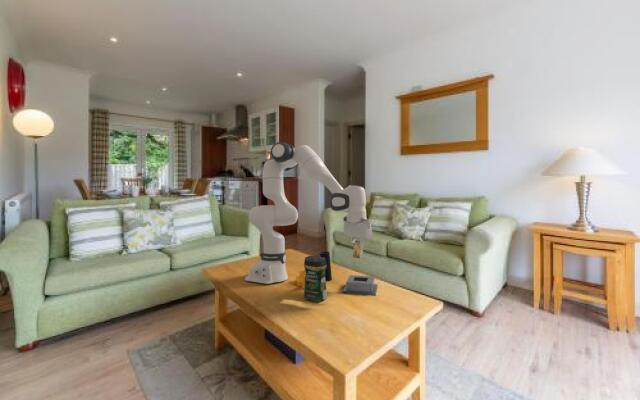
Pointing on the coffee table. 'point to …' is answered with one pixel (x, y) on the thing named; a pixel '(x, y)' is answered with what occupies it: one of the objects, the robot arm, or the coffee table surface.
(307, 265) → the coffee jar
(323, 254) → the pipe connector
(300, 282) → the pipe clamp
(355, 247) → the tan cylinder
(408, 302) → the coffee table surface
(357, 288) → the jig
